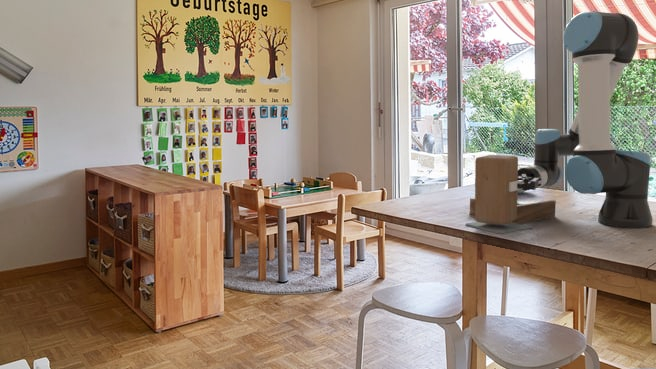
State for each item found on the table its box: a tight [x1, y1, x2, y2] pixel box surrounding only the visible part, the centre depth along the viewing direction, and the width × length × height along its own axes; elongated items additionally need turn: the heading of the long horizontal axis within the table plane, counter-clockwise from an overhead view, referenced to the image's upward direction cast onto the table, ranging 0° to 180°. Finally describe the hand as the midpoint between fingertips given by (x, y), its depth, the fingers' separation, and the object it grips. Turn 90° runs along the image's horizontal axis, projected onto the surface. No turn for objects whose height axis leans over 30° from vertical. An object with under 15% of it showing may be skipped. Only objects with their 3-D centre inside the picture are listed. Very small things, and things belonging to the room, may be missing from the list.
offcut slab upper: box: [517, 200, 538, 205], centre depth 190 cm, size 8×4×2 cm, turn 108°
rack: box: [469, 197, 557, 224], centre depth 187 cm, size 19×20×6 cm
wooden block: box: [474, 154, 519, 225], centre depth 167 cm, size 10×10×20 cm
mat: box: [465, 221, 533, 235], centre depth 170 cm, size 14×14×1 cm
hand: (492, 184), depth 166 cm, fingers closed on wooden block, 11 cm apart
